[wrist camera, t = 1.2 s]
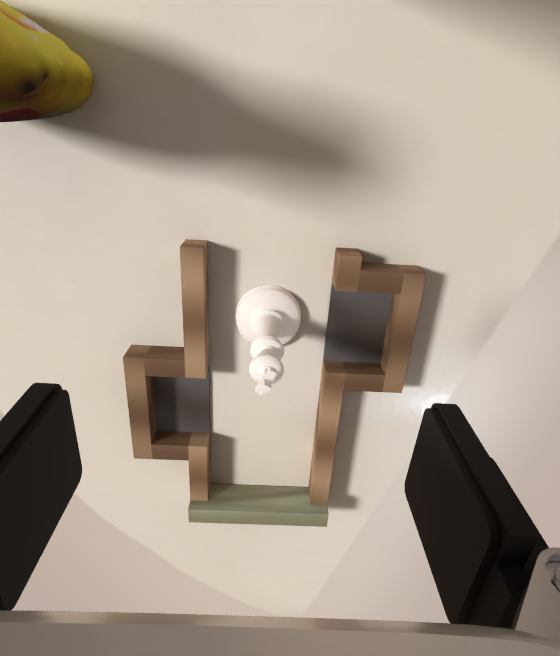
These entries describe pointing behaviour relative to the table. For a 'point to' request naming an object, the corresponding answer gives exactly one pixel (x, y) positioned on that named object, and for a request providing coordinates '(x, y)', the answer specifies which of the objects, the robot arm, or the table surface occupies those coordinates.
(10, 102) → the bottle
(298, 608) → the table surface
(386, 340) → the trap lane
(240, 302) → the chess piece
